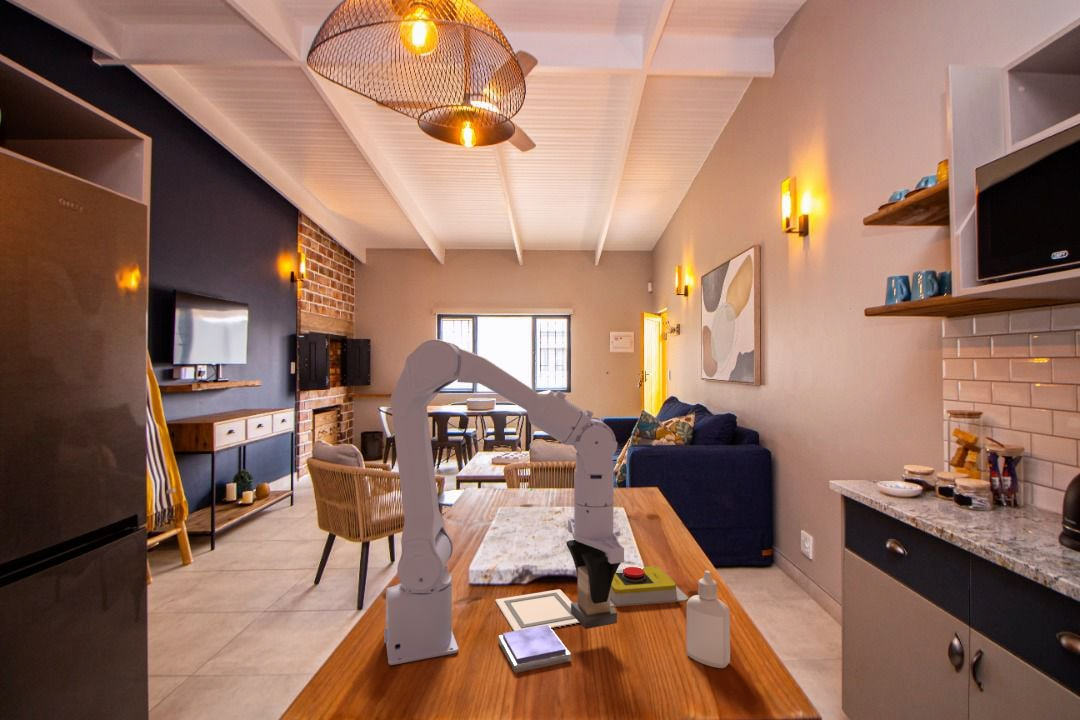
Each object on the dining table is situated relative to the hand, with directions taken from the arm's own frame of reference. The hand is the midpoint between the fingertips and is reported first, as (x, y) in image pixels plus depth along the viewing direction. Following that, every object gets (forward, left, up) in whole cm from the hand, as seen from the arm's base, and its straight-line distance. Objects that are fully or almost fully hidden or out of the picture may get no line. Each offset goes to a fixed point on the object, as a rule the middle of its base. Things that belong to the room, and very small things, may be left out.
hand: (593, 595), depth 75 cm
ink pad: (-9, +1, -7) cm, 11 cm away
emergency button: (+15, +13, -8) cm, 21 cm away
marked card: (-4, +12, -7) cm, 14 cm away
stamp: (0, 0, -3) cm, 3 cm away
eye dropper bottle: (+13, -9, -7) cm, 17 cm away
